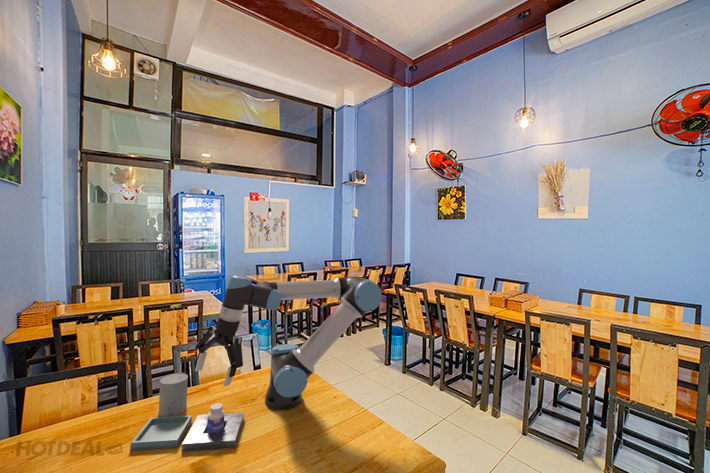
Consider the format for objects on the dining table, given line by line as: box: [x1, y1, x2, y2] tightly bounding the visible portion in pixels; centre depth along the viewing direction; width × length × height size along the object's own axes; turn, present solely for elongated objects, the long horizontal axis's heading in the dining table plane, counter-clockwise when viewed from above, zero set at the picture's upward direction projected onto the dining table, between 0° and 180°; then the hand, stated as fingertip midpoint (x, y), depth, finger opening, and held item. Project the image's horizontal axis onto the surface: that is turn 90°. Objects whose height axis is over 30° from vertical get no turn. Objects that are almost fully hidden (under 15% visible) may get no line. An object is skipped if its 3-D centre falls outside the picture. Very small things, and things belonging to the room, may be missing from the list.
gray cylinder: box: [158, 372, 189, 417], centre depth 121 cm, size 10×10×12 cm
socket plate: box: [181, 412, 245, 453], centre depth 107 cm, size 16×16×2 cm
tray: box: [129, 415, 193, 452], centre depth 105 cm, size 14×14×2 cm
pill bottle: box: [207, 402, 225, 433], centre depth 107 cm, size 5×5×10 cm
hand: (212, 377), depth 109 cm, fingers open, 13 cm apart
